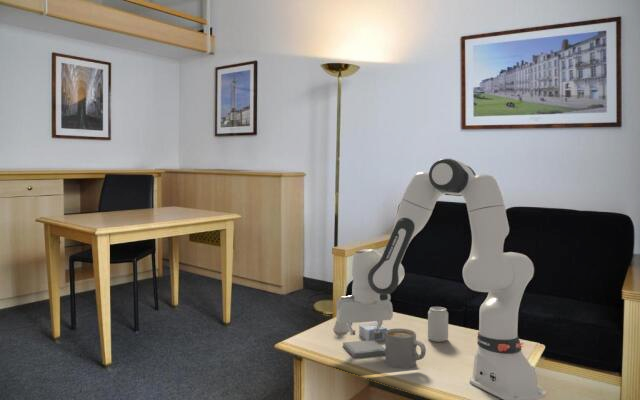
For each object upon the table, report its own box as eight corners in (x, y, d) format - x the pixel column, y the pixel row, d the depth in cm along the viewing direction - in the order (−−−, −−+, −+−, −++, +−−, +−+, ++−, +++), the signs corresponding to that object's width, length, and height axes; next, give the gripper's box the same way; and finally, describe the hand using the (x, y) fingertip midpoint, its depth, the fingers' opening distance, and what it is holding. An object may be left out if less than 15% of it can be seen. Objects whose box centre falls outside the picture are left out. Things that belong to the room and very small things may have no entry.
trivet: (387, 354, 174) (387, 350, 173) (354, 357, 170) (354, 353, 170) (374, 343, 185) (374, 339, 185) (343, 346, 182) (343, 342, 182)
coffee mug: (379, 362, 166) (379, 332, 165) (397, 355, 173) (397, 326, 172) (413, 373, 156) (413, 341, 156) (430, 365, 163) (431, 334, 163)
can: (446, 336, 193) (446, 306, 193) (449, 343, 186) (449, 310, 185) (426, 336, 194) (426, 305, 194) (428, 342, 187) (429, 310, 186)
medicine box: (368, 331, 186) (358, 324, 194) (368, 342, 186) (358, 336, 194) (387, 328, 189) (377, 322, 197) (387, 340, 189) (377, 333, 197)
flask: (349, 335, 195) (349, 309, 195) (331, 334, 197) (331, 309, 196) (351, 330, 202) (351, 305, 202) (334, 329, 204) (334, 304, 203)
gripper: (339, 298, 171) (339, 338, 172) (394, 295, 177) (394, 334, 177) (333, 294, 177) (333, 333, 178) (387, 291, 183) (387, 329, 183)
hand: (364, 333), depth 178 cm, fingers open, 8 cm apart
